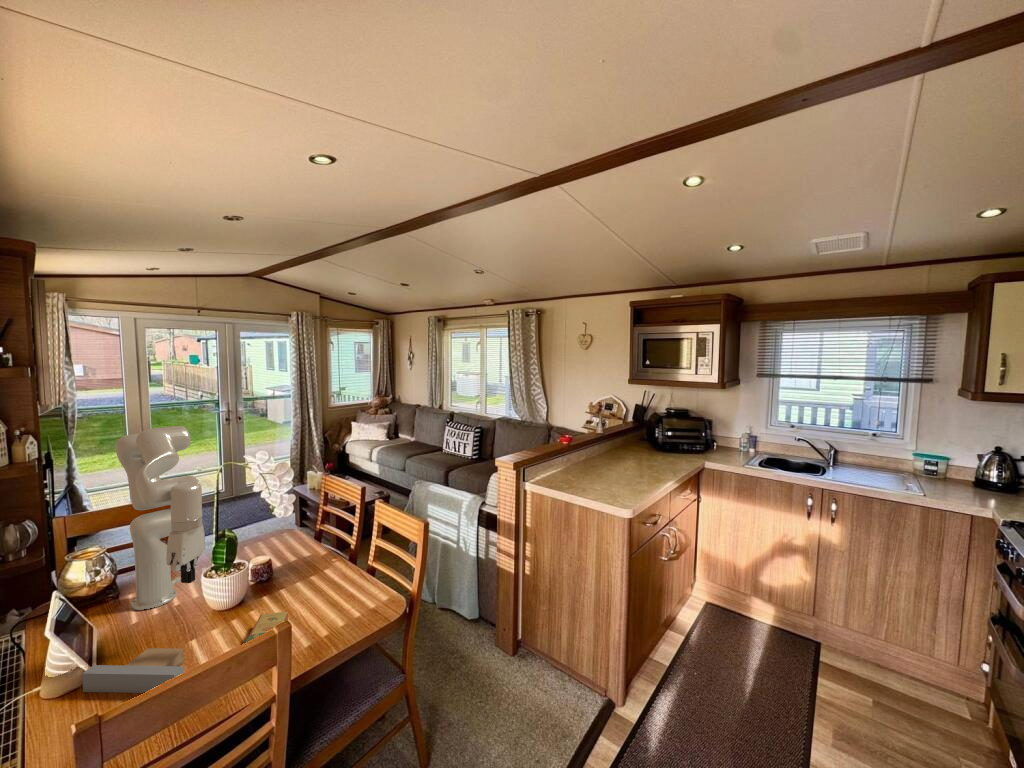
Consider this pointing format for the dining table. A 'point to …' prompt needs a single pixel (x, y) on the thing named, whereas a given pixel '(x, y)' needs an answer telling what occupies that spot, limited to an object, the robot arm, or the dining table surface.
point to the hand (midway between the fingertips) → (188, 581)
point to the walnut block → (159, 657)
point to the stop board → (127, 678)
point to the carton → (267, 623)
